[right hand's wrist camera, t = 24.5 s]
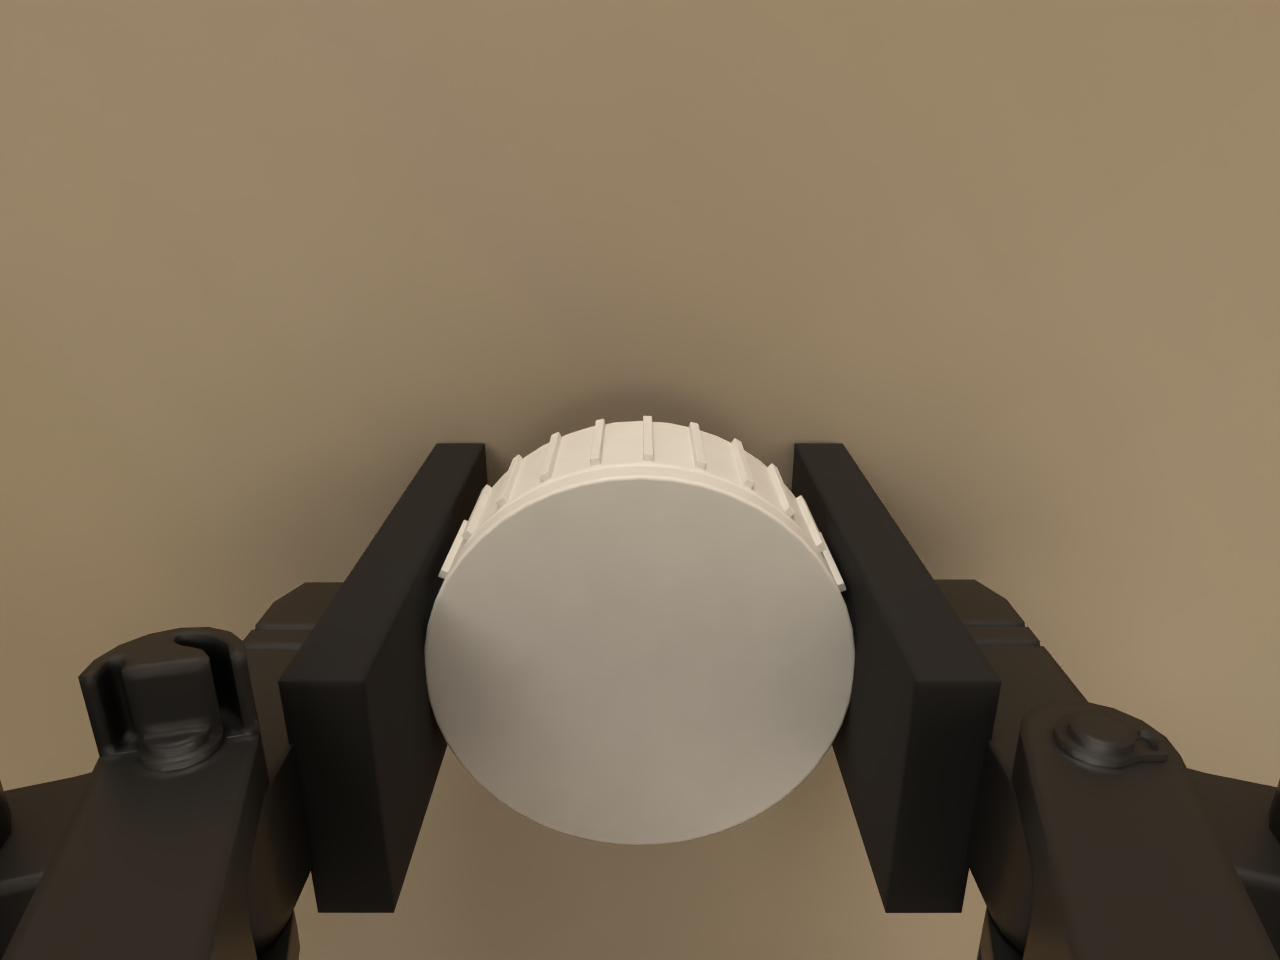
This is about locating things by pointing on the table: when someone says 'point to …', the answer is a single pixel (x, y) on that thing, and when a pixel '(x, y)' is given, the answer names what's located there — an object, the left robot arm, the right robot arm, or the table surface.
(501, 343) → the table surface
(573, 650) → the lid
